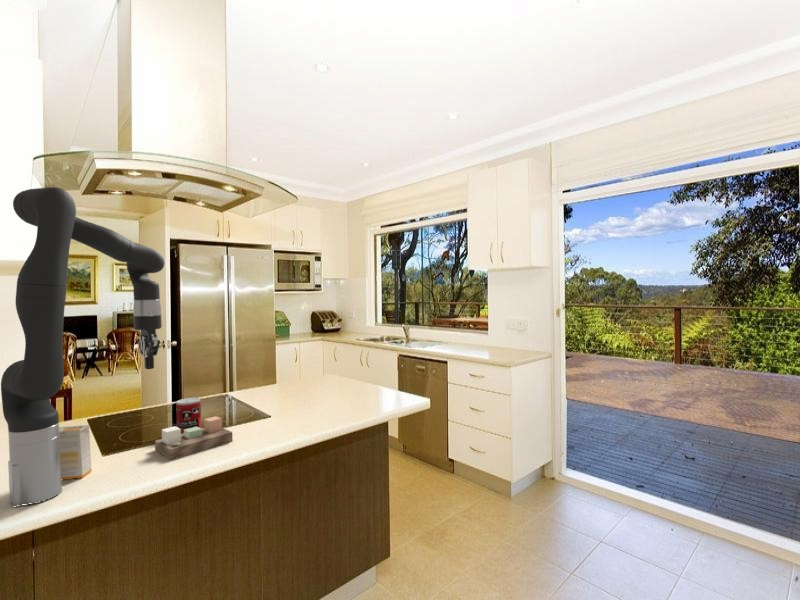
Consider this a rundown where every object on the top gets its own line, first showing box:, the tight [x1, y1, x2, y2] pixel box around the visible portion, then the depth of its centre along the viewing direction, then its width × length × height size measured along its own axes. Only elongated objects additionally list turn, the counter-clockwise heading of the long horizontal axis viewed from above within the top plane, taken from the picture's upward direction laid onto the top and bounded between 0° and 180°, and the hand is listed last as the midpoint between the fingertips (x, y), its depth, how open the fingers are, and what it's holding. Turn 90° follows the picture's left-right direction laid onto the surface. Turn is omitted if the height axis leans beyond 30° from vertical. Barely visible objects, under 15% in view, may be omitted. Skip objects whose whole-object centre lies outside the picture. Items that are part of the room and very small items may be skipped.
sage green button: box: [184, 427, 202, 439], centre depth 134 cm, size 4×4×4 cm
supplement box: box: [59, 424, 93, 480], centre depth 112 cm, size 8×5×13 cm, turn 99°
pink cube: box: [203, 415, 223, 433], centre depth 139 cm, size 4×4×4 cm
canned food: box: [175, 397, 202, 434], centre depth 148 cm, size 8×8×11 cm
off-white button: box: [161, 425, 181, 445], centre depth 129 cm, size 4×4×4 cm
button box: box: [154, 427, 233, 460], centre depth 133 cm, size 19×12×4 cm, turn 139°
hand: (149, 368), depth 133 cm, fingers closed
